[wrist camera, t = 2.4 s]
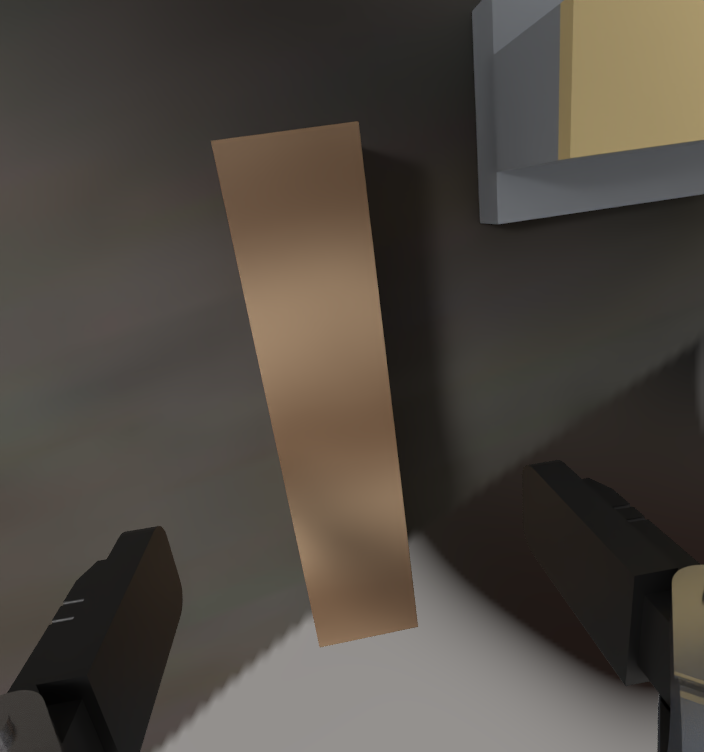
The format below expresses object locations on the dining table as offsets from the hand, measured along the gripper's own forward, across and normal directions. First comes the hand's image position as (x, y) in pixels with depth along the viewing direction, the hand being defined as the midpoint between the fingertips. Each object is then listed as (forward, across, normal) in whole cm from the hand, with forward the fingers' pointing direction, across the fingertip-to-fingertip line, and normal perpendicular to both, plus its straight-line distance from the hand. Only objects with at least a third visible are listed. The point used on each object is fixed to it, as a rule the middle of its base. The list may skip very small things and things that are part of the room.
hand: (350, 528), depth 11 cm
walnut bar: (+8, 0, -1) cm, 8 cm away
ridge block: (+7, -10, -9) cm, 15 cm away
